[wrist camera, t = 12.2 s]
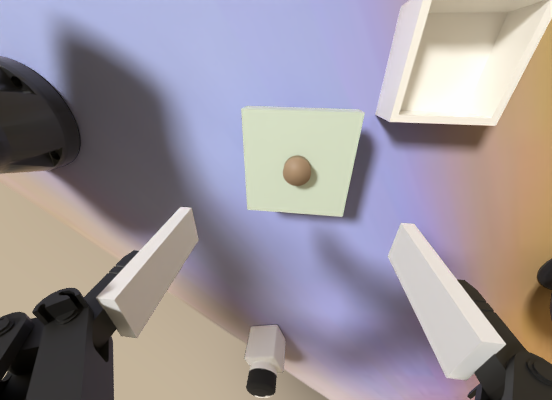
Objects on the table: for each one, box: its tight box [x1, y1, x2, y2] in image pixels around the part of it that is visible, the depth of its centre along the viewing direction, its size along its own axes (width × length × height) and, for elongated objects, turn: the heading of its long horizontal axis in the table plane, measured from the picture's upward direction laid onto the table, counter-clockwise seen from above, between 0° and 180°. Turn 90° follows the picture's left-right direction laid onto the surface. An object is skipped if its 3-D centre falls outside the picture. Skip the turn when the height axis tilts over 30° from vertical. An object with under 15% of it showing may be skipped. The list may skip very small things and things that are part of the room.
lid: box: [241, 106, 365, 217], centre depth 24 cm, size 12×12×4 cm
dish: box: [375, 0, 552, 126], centre depth 21 cm, size 10×10×5 cm
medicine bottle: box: [244, 325, 286, 398], centre depth 48 cm, size 7×7×12 cm
